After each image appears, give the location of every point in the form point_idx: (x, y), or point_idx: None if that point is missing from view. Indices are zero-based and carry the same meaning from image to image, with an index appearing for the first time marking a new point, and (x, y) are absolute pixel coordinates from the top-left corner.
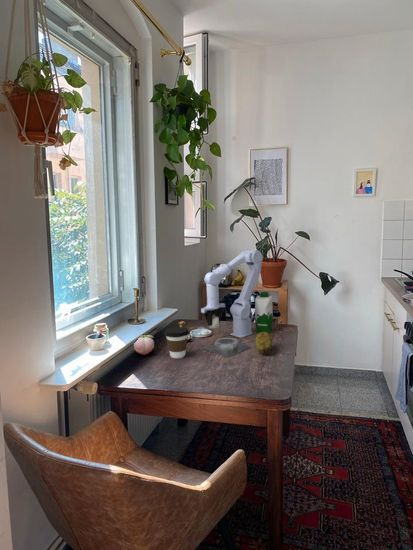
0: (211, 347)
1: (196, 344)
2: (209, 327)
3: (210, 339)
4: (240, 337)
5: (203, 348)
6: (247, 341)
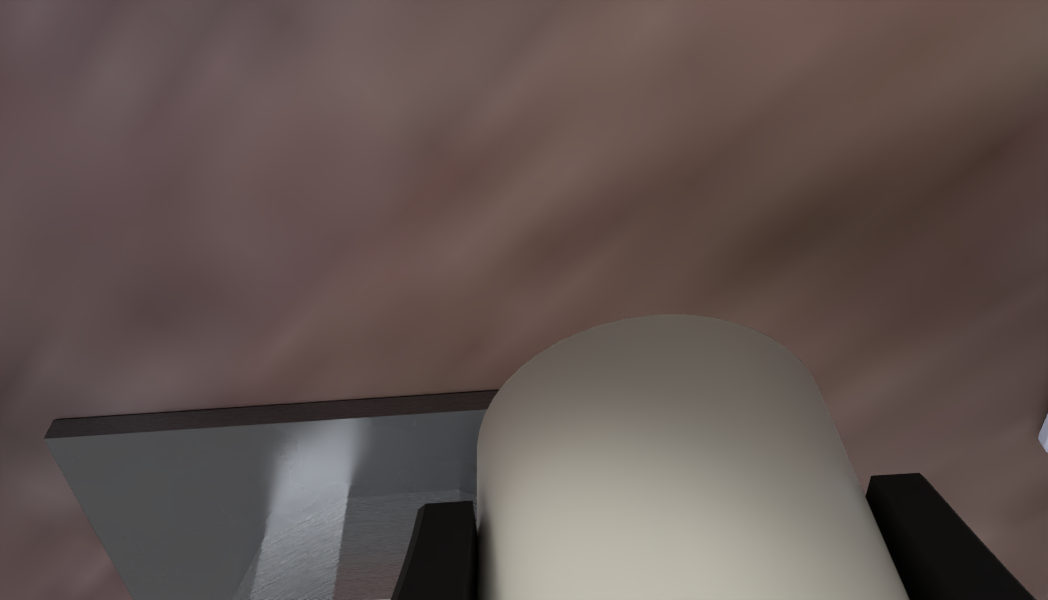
0: (222, 502)
1: (71, 137)
2: (482, 440)
3: (586, 90)
4: (1040, 433)
5: (60, 461)
6: None
